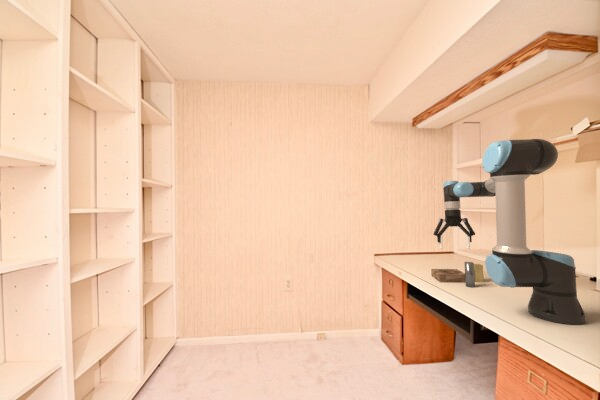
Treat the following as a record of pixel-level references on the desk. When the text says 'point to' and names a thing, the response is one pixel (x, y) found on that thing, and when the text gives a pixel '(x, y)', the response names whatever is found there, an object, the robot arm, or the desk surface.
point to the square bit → (478, 273)
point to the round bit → (469, 274)
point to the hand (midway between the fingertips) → (454, 248)
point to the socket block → (448, 275)
